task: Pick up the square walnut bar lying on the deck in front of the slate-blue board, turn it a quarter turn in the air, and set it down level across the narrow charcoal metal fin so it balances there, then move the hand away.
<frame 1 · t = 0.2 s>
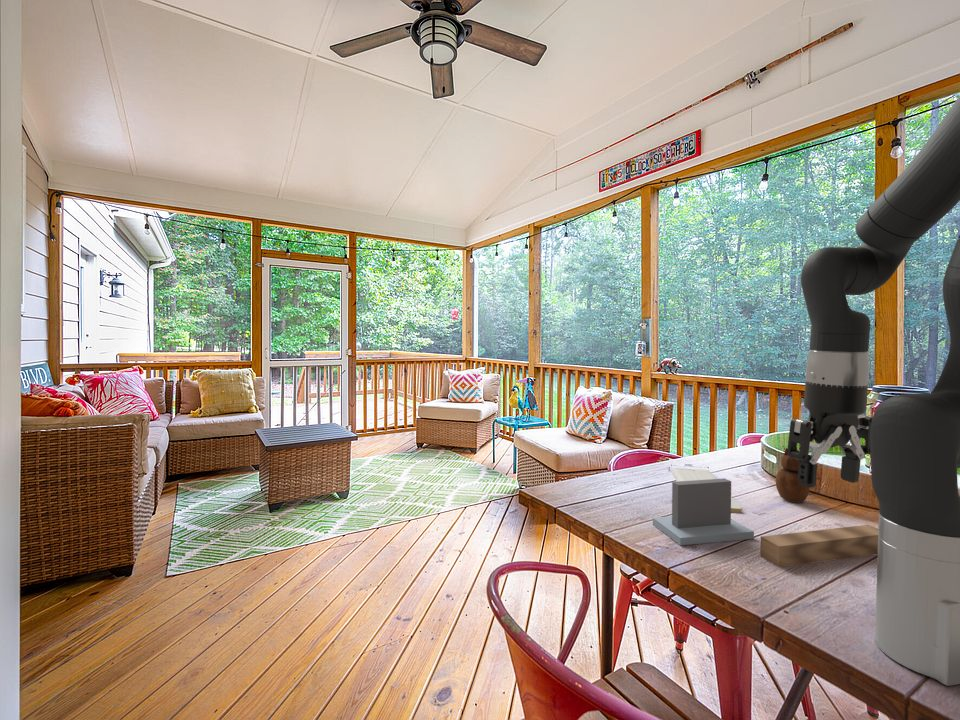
hand: (828, 483, 70), 17 cm above the table, tool pointing down, fingers open, 8 cm apart
wooden figurine: (792, 501, 110), on the table
walnut bar: (825, 556, 83), on the table
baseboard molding: (698, 491, 119), on the table
fulcrum board: (701, 531, 93), on the table
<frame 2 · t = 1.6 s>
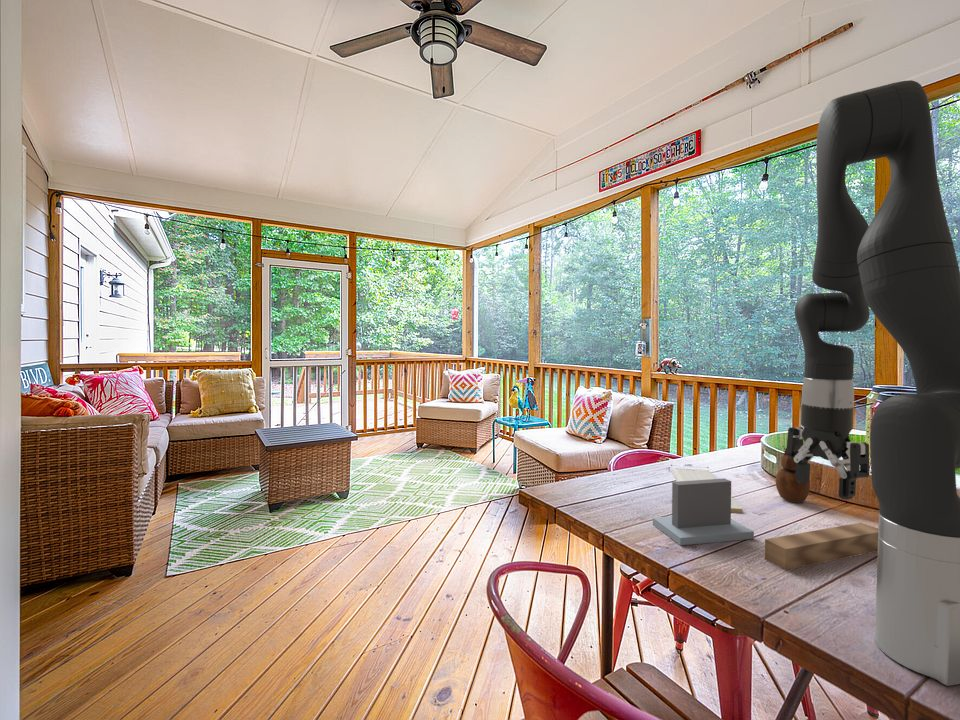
hand: (823, 490, 83), 12 cm above the table, tool pointing down, fingers open, 8 cm apart
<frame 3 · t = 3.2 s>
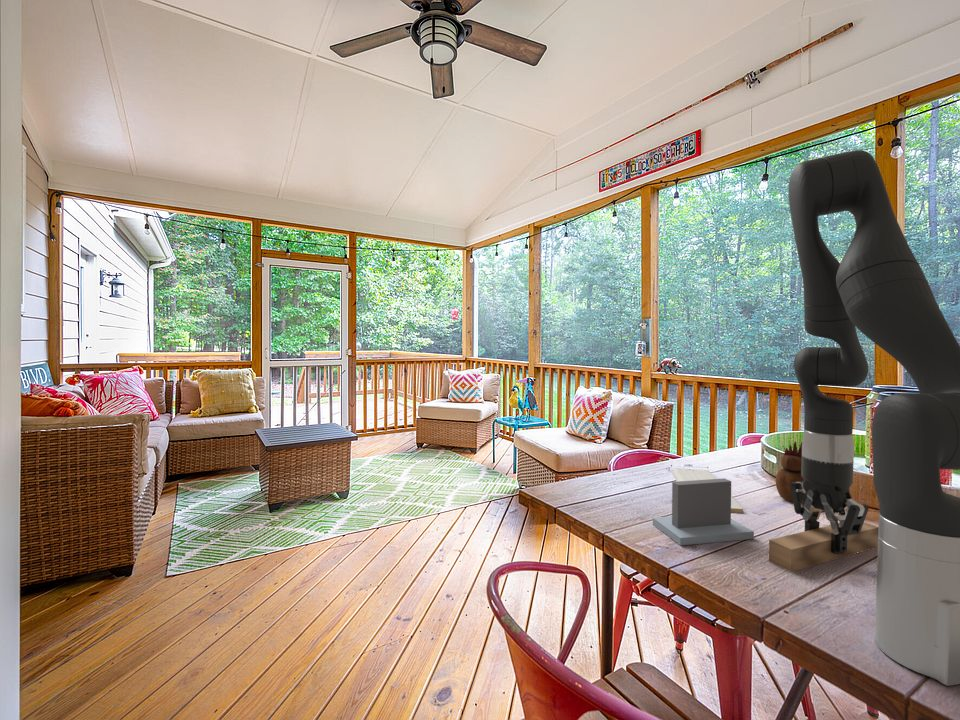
hand: (824, 546, 83), 1 cm above the table, tool pointing down, fingers closed on walnut bar, 4 cm apart
walnut bar: (824, 554, 83), on the table, touching gripper
everything else where it was.
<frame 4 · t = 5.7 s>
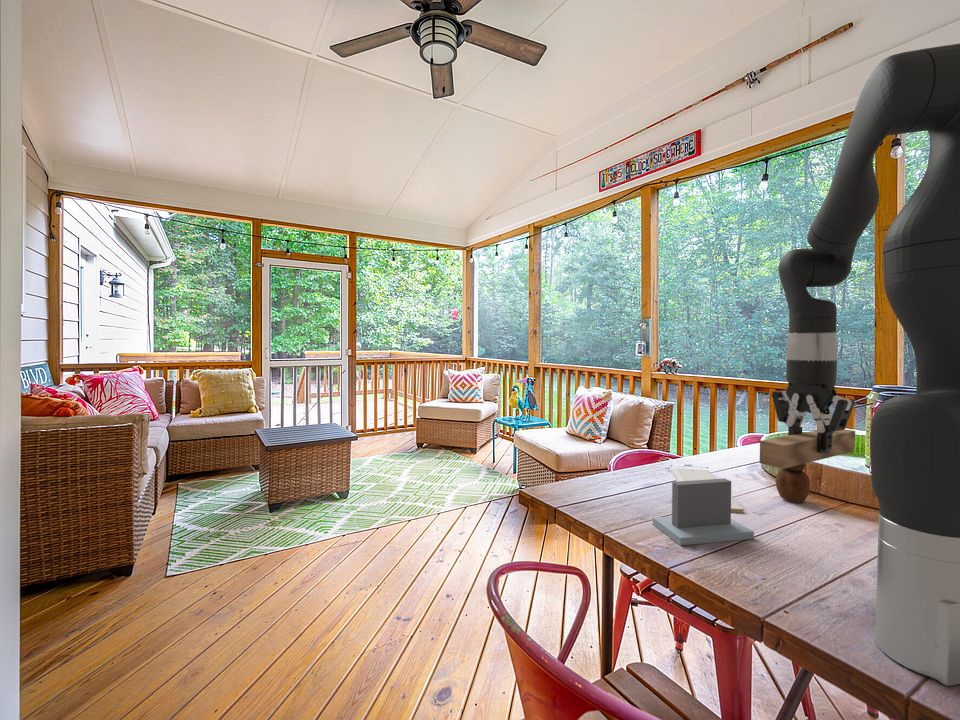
hand: (808, 448, 83), 19 cm above the table, tool pointing down, fingers closed on walnut bar, 4 cm apart
walnut bar: (809, 456, 84), point 18 cm above the table, touching gripper
everything else where it was.
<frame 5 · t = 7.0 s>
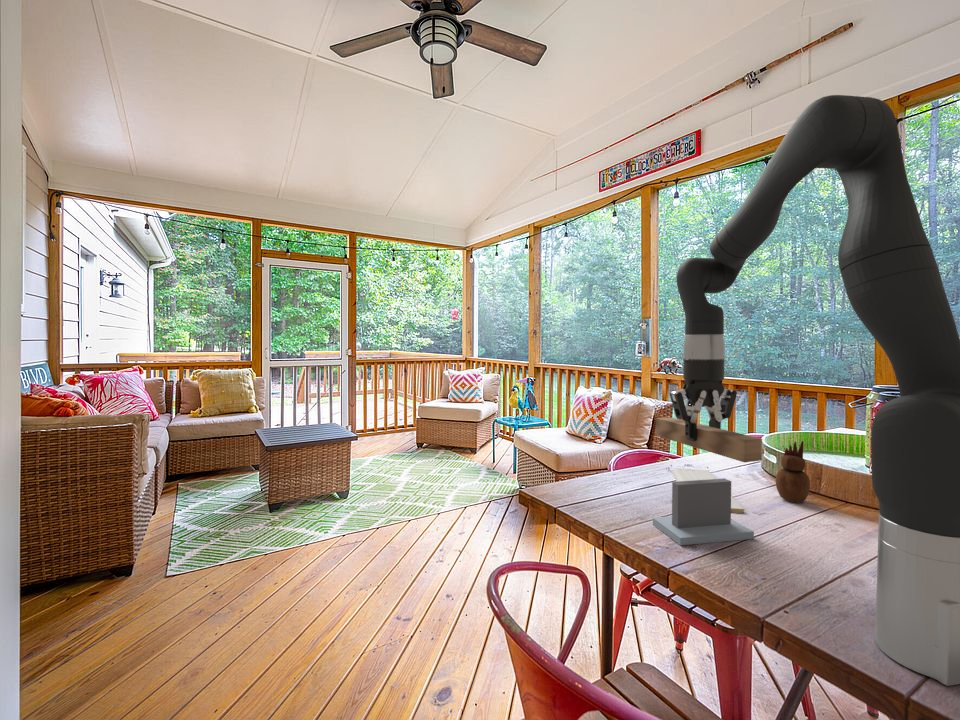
hand: (702, 439, 92), 19 cm above the table, tool pointing down, fingers closed on walnut bar, 4 cm apart
walnut bar: (702, 446, 92), point 18 cm above the table, touching gripper
everything else where it was.
when the fingers open (13 cm above the table, at t = 8.3 s): walnut bar stays where it is, resting on fulcrum board.
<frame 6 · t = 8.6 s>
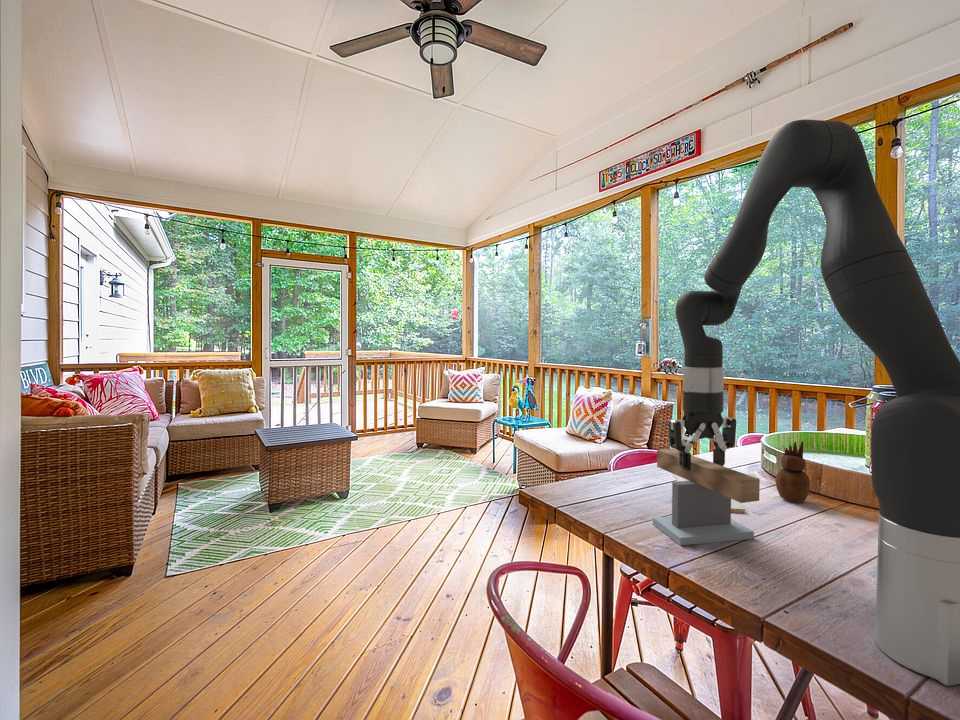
hand: (701, 468, 93), 13 cm above the table, tool pointing down, fingers open, 6 cm apart
walnut bar: (702, 481, 93), point 11 cm above the table, touching fulcrum board
everything else where it was.
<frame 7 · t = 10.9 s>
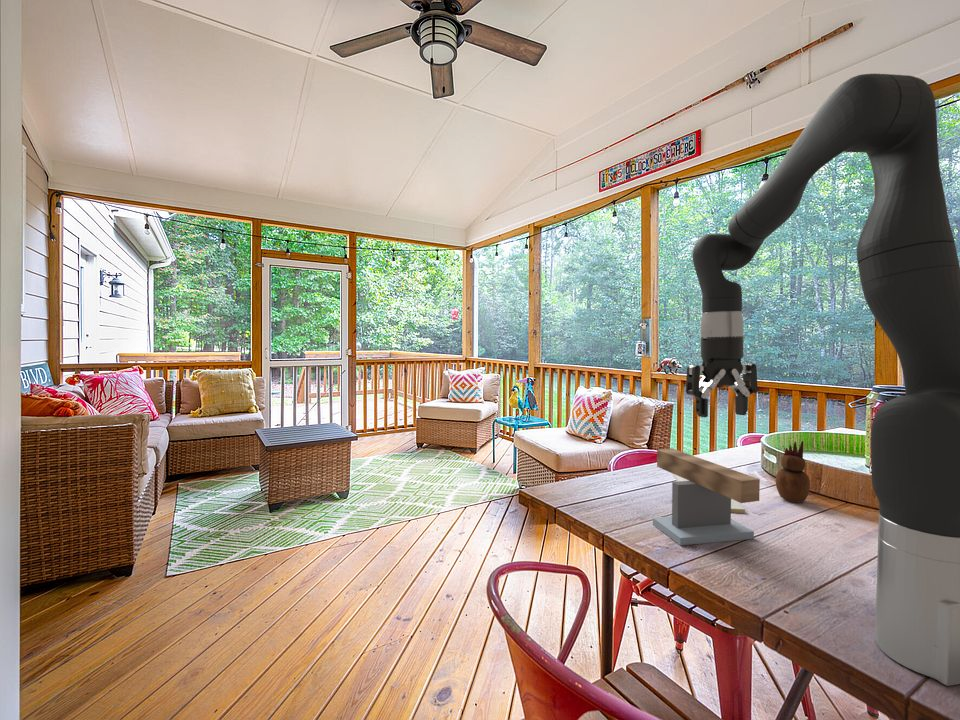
hand: (721, 415, 90), 25 cm above the table, tool pointing down, fingers open, 8 cm apart
nothing on the table moved.
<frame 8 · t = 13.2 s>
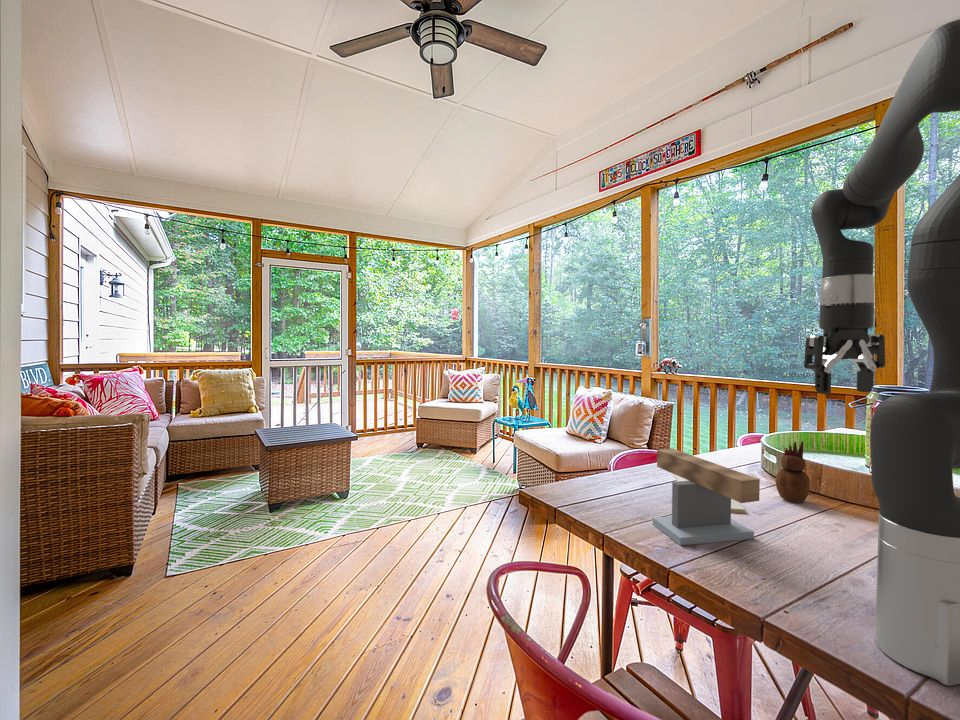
hand: (843, 392, 81), 30 cm above the table, tool pointing down, fingers open, 8 cm apart
nothing on the table moved.
at the end: walnut bar 0.1 cm from the target spot, point 10.5 cm above the table; walnut bar tilted 0°; the gripper is holding nothing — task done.
